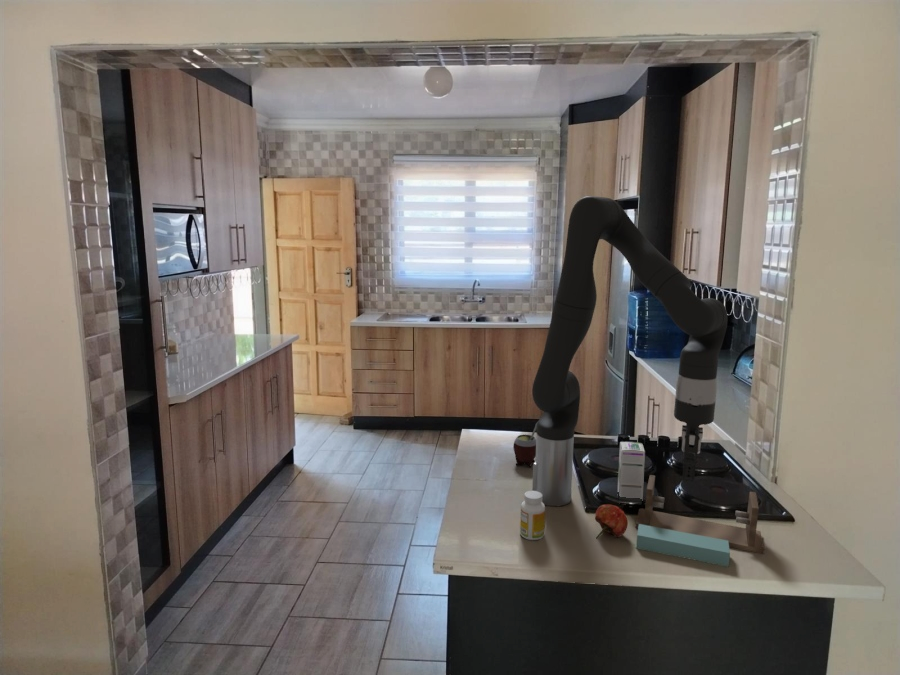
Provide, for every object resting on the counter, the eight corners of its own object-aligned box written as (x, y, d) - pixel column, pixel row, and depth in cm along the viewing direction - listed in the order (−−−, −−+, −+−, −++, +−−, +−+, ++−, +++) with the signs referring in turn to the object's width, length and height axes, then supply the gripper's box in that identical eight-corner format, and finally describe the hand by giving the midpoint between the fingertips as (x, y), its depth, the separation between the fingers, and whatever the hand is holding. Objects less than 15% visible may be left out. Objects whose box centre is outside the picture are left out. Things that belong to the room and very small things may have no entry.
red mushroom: (613, 555, 124) (644, 523, 126) (595, 533, 122) (626, 500, 124) (594, 541, 131) (624, 510, 133) (577, 519, 129) (607, 489, 131)
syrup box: (642, 506, 141) (646, 451, 138) (617, 503, 142) (621, 449, 139) (639, 495, 147) (643, 442, 144) (616, 493, 148) (619, 440, 145)
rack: (635, 527, 131) (638, 487, 129) (639, 511, 138) (641, 473, 136) (763, 553, 121) (768, 510, 119) (760, 535, 128) (764, 494, 126)
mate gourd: (508, 461, 168) (509, 412, 165) (531, 456, 171) (532, 409, 168) (522, 470, 161) (523, 420, 158) (545, 466, 164) (547, 416, 162)
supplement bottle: (546, 530, 130) (547, 491, 128) (541, 542, 125) (543, 501, 123) (522, 526, 132) (523, 487, 130) (517, 538, 127) (518, 497, 125)
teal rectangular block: (636, 549, 123) (637, 535, 122) (637, 538, 127) (638, 523, 127) (728, 568, 116) (729, 553, 116) (726, 555, 121) (728, 540, 120)
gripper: (676, 386, 123) (670, 456, 126) (674, 404, 110) (667, 482, 113) (714, 390, 120) (707, 462, 123) (716, 410, 107) (708, 489, 111)
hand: (688, 471), depth 118 cm, fingers open, 8 cm apart
